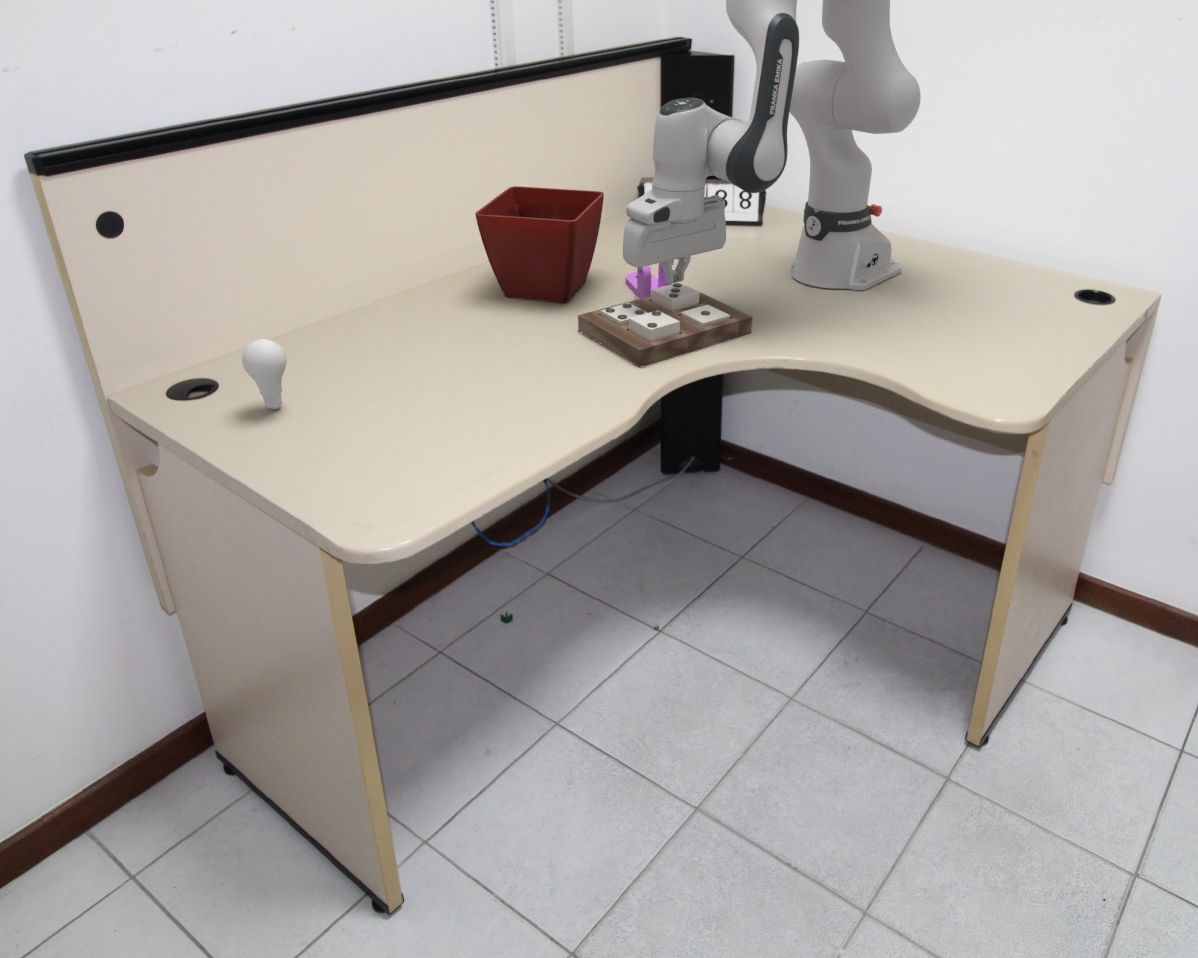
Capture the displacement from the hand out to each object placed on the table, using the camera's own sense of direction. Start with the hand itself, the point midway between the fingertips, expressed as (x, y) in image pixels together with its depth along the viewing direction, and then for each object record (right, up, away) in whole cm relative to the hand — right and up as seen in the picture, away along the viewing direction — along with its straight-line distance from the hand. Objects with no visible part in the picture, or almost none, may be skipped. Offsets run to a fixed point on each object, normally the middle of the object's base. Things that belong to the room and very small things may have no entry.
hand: (674, 281), depth 168 cm
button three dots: (0, -4, +3) cm, 5 cm away
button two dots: (-4, -11, -8) cm, 14 cm away
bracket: (-4, +2, +16) cm, 17 cm away
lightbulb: (-62, -24, -25) cm, 71 cm away
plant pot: (-24, +2, +17) cm, 29 cm away
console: (-2, -9, -2) cm, 9 cm away
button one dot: (+5, -9, -2) cm, 11 cm away
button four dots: (-9, -9, -2) cm, 12 cm away
